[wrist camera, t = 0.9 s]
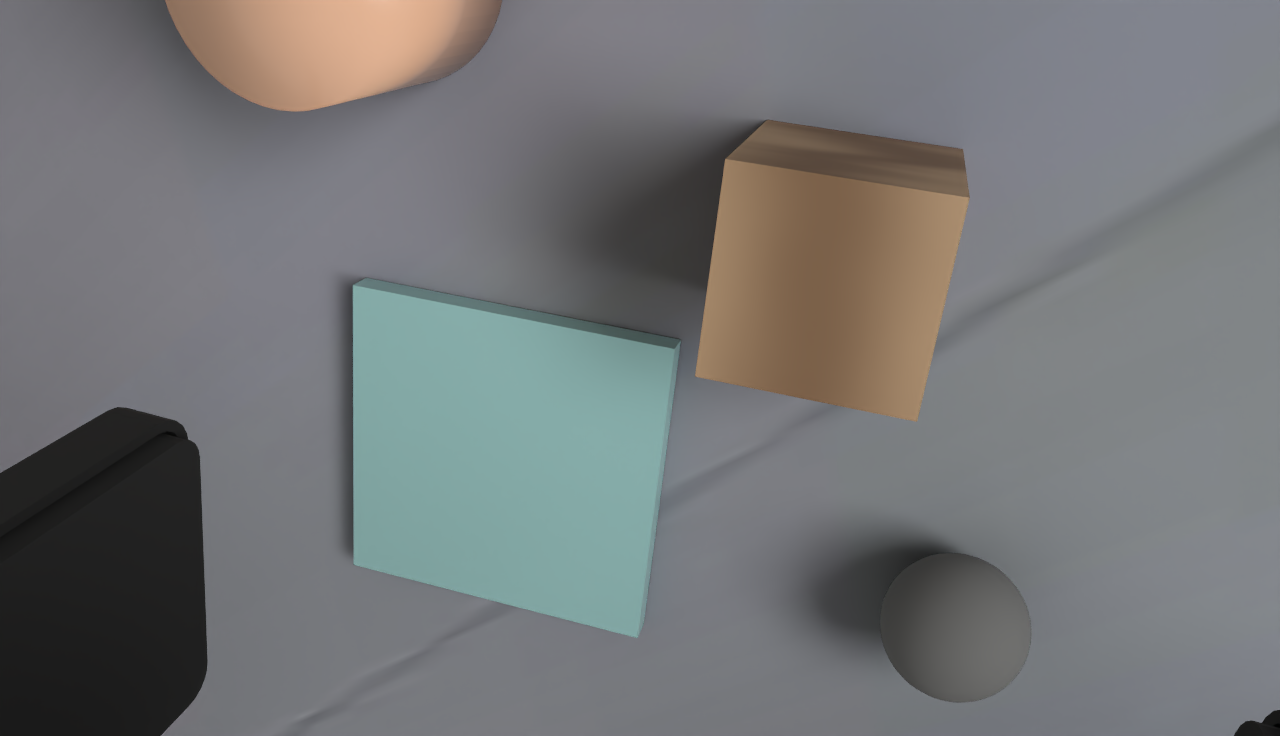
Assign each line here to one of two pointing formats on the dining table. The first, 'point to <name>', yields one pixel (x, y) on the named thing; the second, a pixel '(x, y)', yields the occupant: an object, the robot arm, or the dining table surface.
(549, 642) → the dining table surface
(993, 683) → the rubber ball
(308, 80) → the beige rounded cylinder
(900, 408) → the walnut block
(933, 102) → the dining table surface
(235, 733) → the dining table surface
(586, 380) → the coaster
